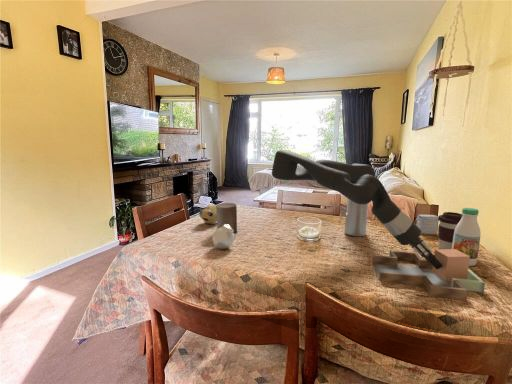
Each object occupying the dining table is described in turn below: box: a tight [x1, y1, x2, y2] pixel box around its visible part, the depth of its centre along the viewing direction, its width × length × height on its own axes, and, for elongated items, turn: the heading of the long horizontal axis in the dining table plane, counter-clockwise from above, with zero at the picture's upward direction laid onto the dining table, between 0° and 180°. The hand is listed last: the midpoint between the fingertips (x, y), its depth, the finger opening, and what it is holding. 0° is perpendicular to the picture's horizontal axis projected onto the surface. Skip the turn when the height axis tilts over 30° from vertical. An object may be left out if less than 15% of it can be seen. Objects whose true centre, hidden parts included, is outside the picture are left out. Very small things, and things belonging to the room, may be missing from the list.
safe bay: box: [451, 267, 486, 294], centre depth 89 cm, size 8×14×4 cm, turn 167°
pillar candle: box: [215, 202, 238, 235], centre depth 134 cm, size 10×10×15 cm
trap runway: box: [371, 249, 484, 301], centre depth 91 cm, size 28×26×4 cm
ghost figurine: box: [212, 224, 236, 250], centre depth 115 cm, size 9×10×10 cm
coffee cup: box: [437, 211, 462, 249], centre depth 113 cm, size 10×10×15 cm
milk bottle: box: [452, 207, 482, 267], centre depth 101 cm, size 8×8×20 cm
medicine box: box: [416, 214, 440, 235], centre depth 134 cm, size 8×4×9 cm, turn 84°
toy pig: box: [198, 203, 217, 225], centre depth 149 cm, size 10×12×11 cm
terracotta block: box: [432, 248, 470, 281], centre depth 90 cm, size 7×6×8 cm
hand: (439, 266), depth 89 cm, fingers closed
